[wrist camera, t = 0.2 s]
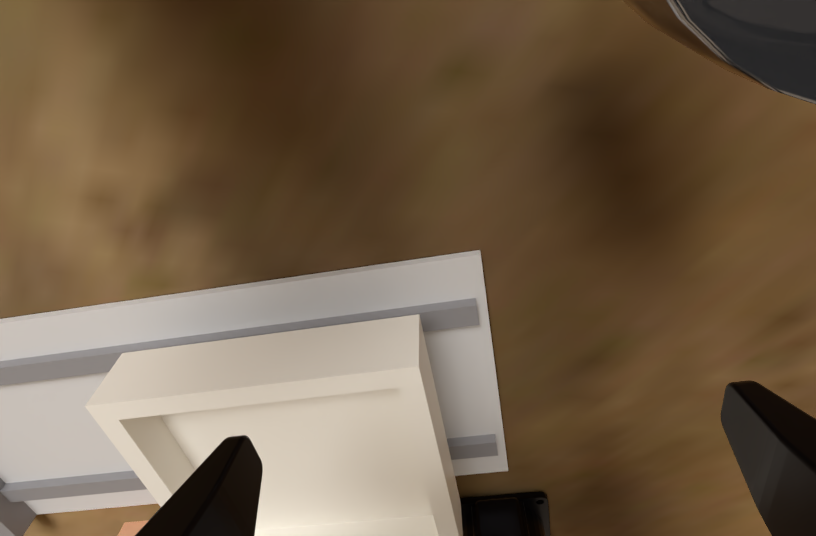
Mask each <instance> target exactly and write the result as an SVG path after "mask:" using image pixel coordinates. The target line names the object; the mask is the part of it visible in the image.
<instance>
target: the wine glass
mask: <svg viewBox="0 0 816 536" xmlns="http://www.w3.org/2000/svg"><path fill="white" fill-rule="evenodd" d="M623 1H624V2H625V3H626V4H627V5H628V6H629V7H630V8H631V9H632V10H633V11H634V12H635V13H636V14H637V15H638V16H639V17H640V18H641V19H643V20H644V21H645V22H646V23H647V24H649V25H651V26H652V27H654V28H656V29H657V30H659V31H661V32H662V33H664V34H666V35H667V36H669V37H671V38H672V39H674V40H676V41H677V42H679V43H681V44H682V45H684V46H686V47H687V48H689V49H691V50H692V51H694V52H696V53H697V54H699V55H701V56H702V57H704V58H706V59H707V60H709V61H711V62H713V63H714V64H716V65H718V66H719V67H721V68H723V69H725V70H727V71H729V72H731V73H734V74H736V75H738V76H740V77H743V78H745V79H747V80H749V81H751V82H754V83H756V84H758V85H760V86H763V87H765V88H767V89H770V90H773V91H777V92H780V93H783V94H786V95H789V96H792V97H795V98H798V99H801V100H804V101H807V102H810V103H814V104H816V0H623Z"/></svg>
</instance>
